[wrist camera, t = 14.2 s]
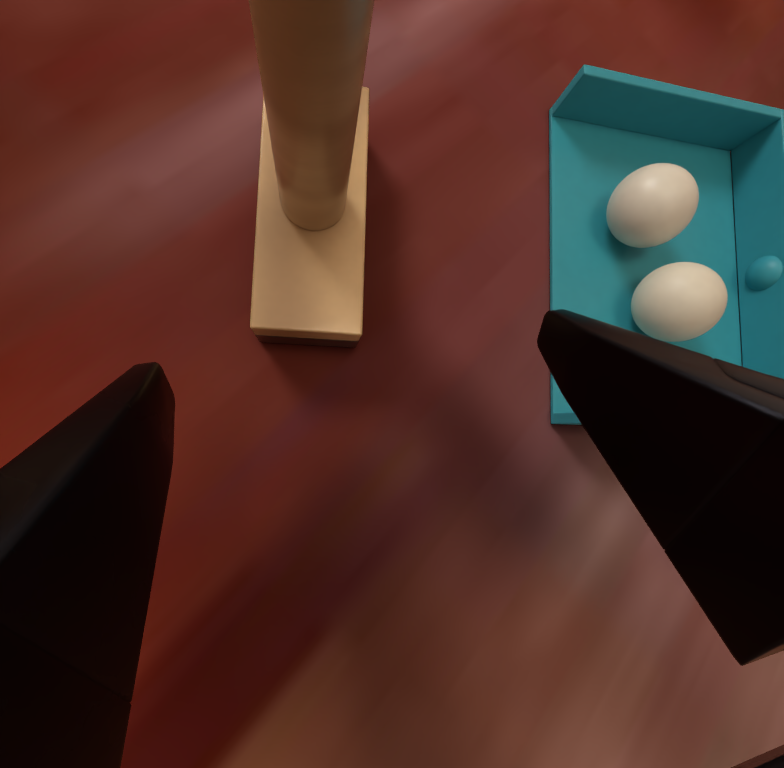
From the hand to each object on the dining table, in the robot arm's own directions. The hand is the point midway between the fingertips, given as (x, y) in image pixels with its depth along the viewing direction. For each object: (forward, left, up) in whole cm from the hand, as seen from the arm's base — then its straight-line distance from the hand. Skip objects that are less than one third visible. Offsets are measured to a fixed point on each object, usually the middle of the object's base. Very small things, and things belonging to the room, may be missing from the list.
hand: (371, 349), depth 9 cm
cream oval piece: (+1, -15, -8) cm, 17 cm away
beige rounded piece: (-3, -14, -7) cm, 15 cm away
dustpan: (-4, -20, -8) cm, 22 cm away
